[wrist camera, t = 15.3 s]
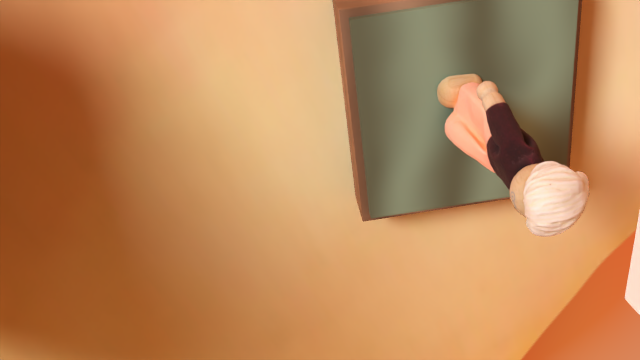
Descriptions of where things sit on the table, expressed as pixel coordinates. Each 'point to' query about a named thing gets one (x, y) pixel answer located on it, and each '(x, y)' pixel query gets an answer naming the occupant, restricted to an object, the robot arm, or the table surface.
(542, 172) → the grandmother figurine
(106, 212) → the table surface
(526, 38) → the sage green square panel
